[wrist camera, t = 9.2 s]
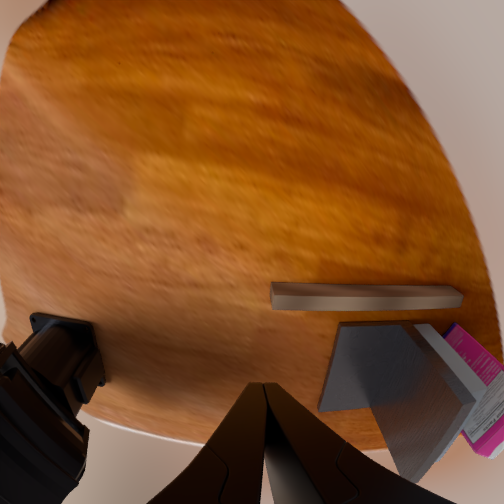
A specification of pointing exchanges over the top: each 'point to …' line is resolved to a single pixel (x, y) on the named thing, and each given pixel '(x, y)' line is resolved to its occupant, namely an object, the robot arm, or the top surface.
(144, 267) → the top surface
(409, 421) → the bookend
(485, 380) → the supplement box
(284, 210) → the top surface
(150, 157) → the top surface
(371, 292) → the rail
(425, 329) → the book
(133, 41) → the top surface
